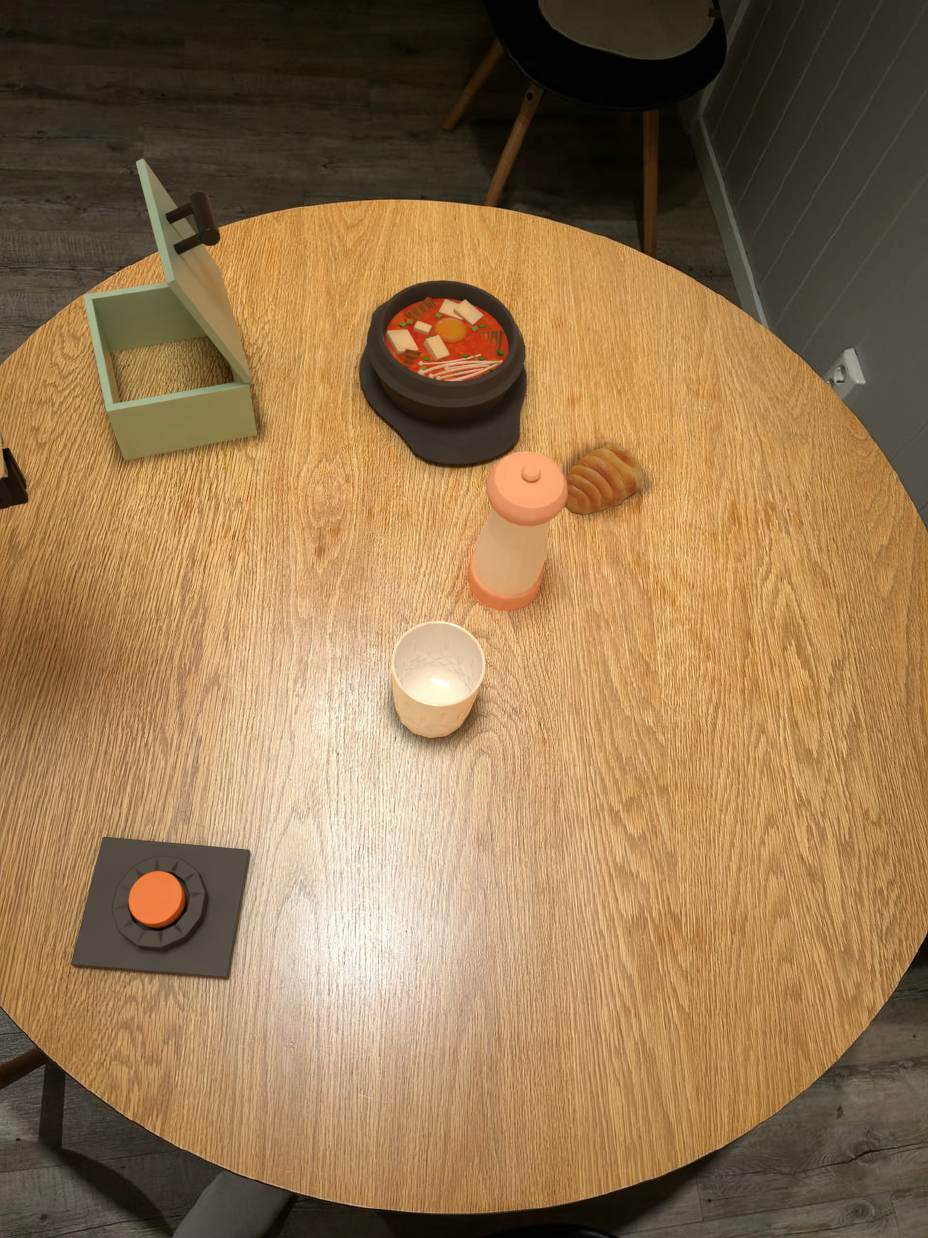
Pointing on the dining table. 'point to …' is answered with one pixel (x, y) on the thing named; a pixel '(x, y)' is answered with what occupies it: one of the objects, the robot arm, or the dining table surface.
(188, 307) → the lid
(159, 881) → the button
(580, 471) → the pastry
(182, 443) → the green bottomless box
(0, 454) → the robot arm
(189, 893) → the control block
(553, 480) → the salt shaker
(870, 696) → the dining table surface
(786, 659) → the dining table surface
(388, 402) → the casserole
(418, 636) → the white cup
